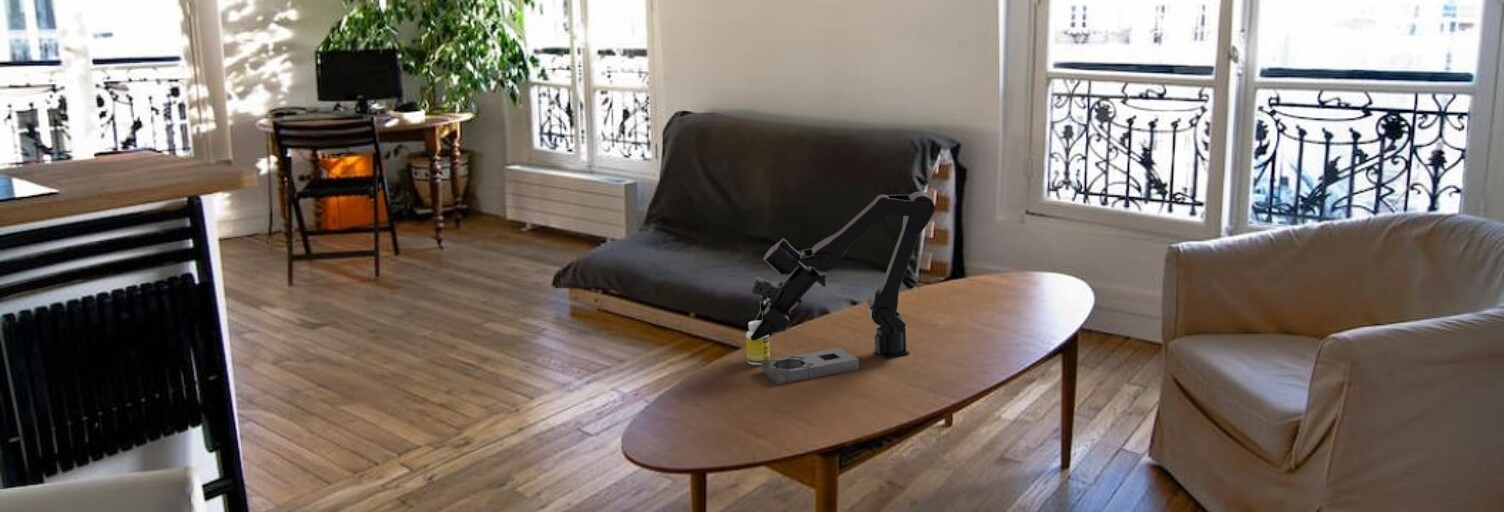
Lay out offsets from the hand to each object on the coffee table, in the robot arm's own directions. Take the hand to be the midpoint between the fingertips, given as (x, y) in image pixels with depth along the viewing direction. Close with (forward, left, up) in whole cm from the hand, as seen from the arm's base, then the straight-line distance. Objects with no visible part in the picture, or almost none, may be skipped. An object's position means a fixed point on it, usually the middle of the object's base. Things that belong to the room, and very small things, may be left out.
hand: (751, 335), depth 278 cm
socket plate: (-9, +12, -7) cm, 17 cm away
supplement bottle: (-1, 0, -7) cm, 7 cm away
